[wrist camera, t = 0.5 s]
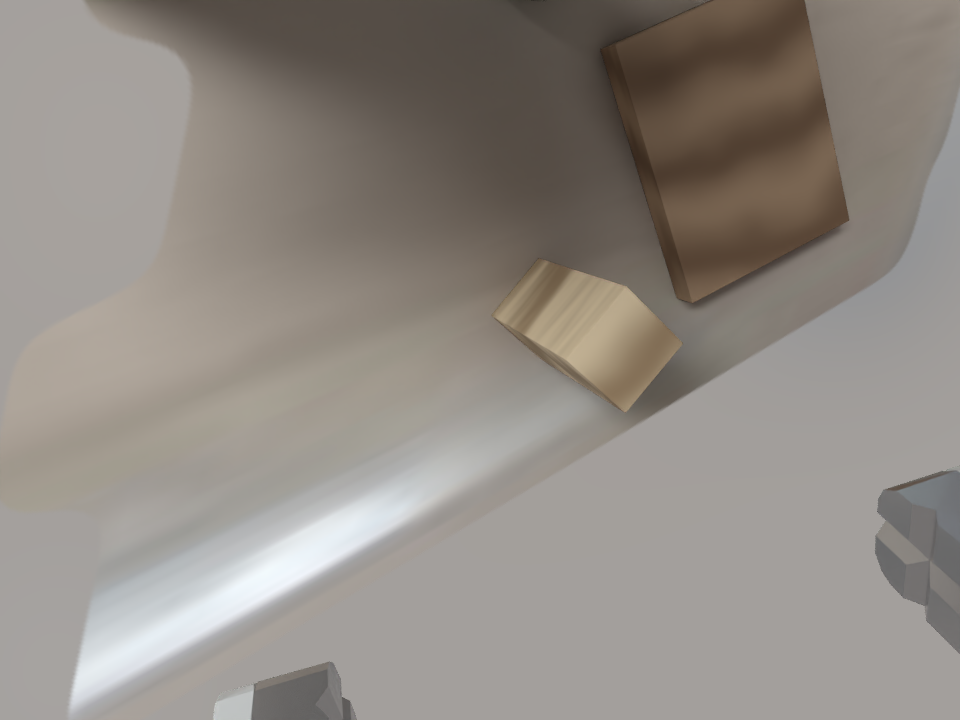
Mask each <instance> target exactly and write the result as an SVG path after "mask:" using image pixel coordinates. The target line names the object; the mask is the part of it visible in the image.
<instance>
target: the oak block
mask: <svg viewBox="0 0 960 720" xmlns="http://www.w3.org/2000/svg"><path fill="white" fill-rule="evenodd" d="M491 316H492V317H494V318H495V319H496V320H497V321H498V322H499V323H500V324H502V325H503V326H504V327H505V328H506V329H507V330H508V331H510V332H511V333H512V334H513V335H514V336H515V337H516V338H518V339H519V340H520V341H521V342H522V343H523V344H524V345H526V346H527V347H528V348H529V349H530V350H531V351H532V352H534V353H535V354H536V355H537V356H538V357H539V358H540V359H542V360H543V361H545V362H546V363H548V364H550V365H551V366H553V367H554V368H556V369H557V370H559V371H560V372H562V373H564V374H565V375H567V376H568V377H570V378H571V379H573V380H575V381H576V382H578V383H579V384H581V385H582V386H584V387H586V388H587V389H589V390H590V391H592V392H593V393H595V394H596V395H598V396H600V397H601V398H603V399H604V400H606V401H607V402H609V403H611V404H612V405H614V406H615V407H617V408H618V409H620V410H622V411H623V412H625V413H626V412H627V411H628V410H629V408H630V407H631V406H632V405H633V403H634V402H635V401H636V400H637V399H638V397H639V396H640V395H641V394H642V393H643V391H644V390H645V389H646V388H647V387H648V385H649V384H650V383H651V382H652V380H653V379H654V378H655V377H656V376H657V374H658V373H659V372H660V371H661V370H662V368H663V367H664V366H665V365H666V364H667V362H668V361H669V360H670V359H671V357H672V356H673V355H674V354H675V353H676V351H677V350H678V349H679V348H680V347H681V345H682V344H683V343H682V342H681V341H680V340H679V339H678V338H677V337H676V336H675V335H674V334H673V333H672V332H671V331H670V330H669V329H668V328H667V327H666V326H665V325H664V324H663V323H662V322H661V321H660V320H659V319H658V318H657V317H656V316H655V315H654V314H653V313H652V312H651V311H650V310H649V309H648V308H647V307H646V305H645V304H644V303H643V302H642V301H641V300H640V299H639V298H638V297H637V296H636V295H635V294H634V293H633V292H632V291H631V290H630V289H629V288H628V287H626V286H623V285H620V284H617V283H614V282H611V281H608V280H605V279H602V278H598V277H595V276H592V275H589V274H586V273H583V272H580V271H577V270H574V269H570V268H567V267H564V266H561V265H558V264H555V263H552V262H549V261H546V260H542V259H539V258H538V260H537V261H536V262H535V263H534V264H533V266H532V267H531V268H530V269H529V271H528V272H527V273H526V274H525V275H524V277H523V278H522V279H521V280H520V281H519V283H518V284H517V285H516V286H515V287H514V289H513V290H512V291H511V292H510V293H509V295H508V296H507V297H506V298H505V299H504V301H503V302H502V303H501V304H500V305H499V307H498V308H497V309H496V310H495V312H494V313H493V314H492V315H491Z"/></svg>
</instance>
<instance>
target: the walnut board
mask: <svg viewBox="0 0 960 720" xmlns="http://www.w3.org/2000/svg"><path fill="white" fill-rule="evenodd" d="M600 50H601V53H602V56H603V59H604V63H605V66H606V69H607V72H608V76H609V79H610V82H611V85H612V89H613V92H614V95H615V98H616V102H617V105H618V108H619V111H620V115H621V118H622V121H623V125H624V128H625V131H626V134H627V138H628V141H629V144H630V147H631V151H632V154H633V157H634V160H635V164H636V167H637V170H638V173H639V177H640V180H641V183H642V186H643V190H644V193H645V196H646V199H647V203H648V206H649V209H650V212H651V216H652V219H653V222H654V225H655V229H656V232H657V235H658V238H659V242H660V245H661V248H662V251H663V255H664V258H665V261H666V264H667V268H668V271H669V274H670V277H671V281H672V284H673V287H674V290H675V294H676V297H677V298H678V299H681V300H684V301H688V302H691V303H694V302H696V301H698V300H699V299H701V298H703V297H705V296H707V295H709V294H711V293H713V292H715V291H716V290H718V289H720V288H722V287H724V286H726V285H728V284H730V283H732V282H734V281H735V280H737V279H739V278H741V277H743V276H745V275H747V274H749V273H751V272H752V271H754V270H756V269H758V268H760V267H762V266H764V265H766V264H768V263H769V262H771V261H773V260H775V259H777V258H779V257H781V256H783V255H785V254H787V253H788V252H790V251H792V250H794V249H796V248H798V247H800V246H802V245H804V244H805V243H807V242H809V241H811V240H813V239H815V238H817V237H819V236H821V235H823V234H824V233H826V232H828V231H830V230H832V229H834V228H836V227H838V226H840V225H841V224H843V223H845V222H847V221H849V216H848V211H847V206H846V202H845V197H844V192H843V187H842V182H841V177H840V172H839V167H838V163H837V158H836V153H835V148H834V143H833V138H832V133H831V128H830V124H829V119H828V114H827V109H826V104H825V99H824V94H823V89H822V85H821V80H820V75H819V70H818V65H817V60H816V55H815V50H814V46H813V41H812V36H811V31H810V26H809V21H808V16H807V11H806V7H805V2H804V0H710V1H708V2H706V3H704V4H701V5H699V6H697V7H695V8H692V9H690V10H688V11H686V12H683V13H681V14H679V15H677V16H674V17H672V18H670V19H668V20H665V21H663V22H661V23H659V24H656V25H654V26H652V27H650V28H647V29H645V30H643V31H641V32H638V33H636V34H634V35H632V36H629V37H627V38H625V39H622V40H620V41H618V42H616V43H613V44H611V45H609V46H607V47H604V48H602V49H600Z"/></svg>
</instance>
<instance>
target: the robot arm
mask: <svg viewBox="0 0 960 720" xmlns="http://www.w3.org/2000/svg"><path fill="white" fill-rule="evenodd" d="M877 512H878V513H879V514H880V515H881V516H882V517H883V518H884V519H885V520H886V521H885V523H884V524H883V526H882V527H881V528H880V530H879V531H878V533H877V534H876V544H875V554H876V556H877V559H878V562H879V565H880V567H881V570H882V572H883V574H884V575H885V577H886V578H887V580H888V581H889V583H890V584H891V585H892V586H893V587H894V588H895V590H896V591H897V592H898V593H900V595H901V596H902V597H903V598H905V599H908V600H911V601H913V602H916V603H918V604H921V605H924V606H925V613H926V621H927V622H928V623H929V624H930V625H931V626H932V627H933V628H934V629H935V630H936V631H937V632H938V633H939V634H940V635H941V636H942V637H943V638H944V639H945V640H946V641H947V642H948V643H949V644H950V645H951V646H952V647H953V648H954V649H955V650H956V651H957V652H958V653H960V466H957V467H954V468H951V469H948V470H946V471H941V472H938V473H935V474H932V475H929V476H925V477H922V478H920V479H916V480H913V481H910V482H907V483H904V484H900V485H897V486H894V487H891V488H888V489H885V490H883V492H882V493H881V495H880V497H879V499H878V509H877ZM213 720H357V719H356V715H355V712H354V710H353V707H352V705H351V702H350V701H349V700H347V699H345V698H343V697H342V693H341V679H340V676H339V674H338V672H337V670H336V668H335V665H334V663H332V662H327V663H323V664H319V665H316V666H312V667H309V668H305V669H302V670H298V671H294V672H291V673H287V674H284V675H280V676H277V677H273V678H270V679H266V680H263V681H259V682H258V683H255V684H251V685H248V686H244V687H240V688H237V689H233V690H230V691H226V692H223V693H221V694H220V696H219V697H218V700H217V702H216V704H215V707H214V715H213Z"/></svg>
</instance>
